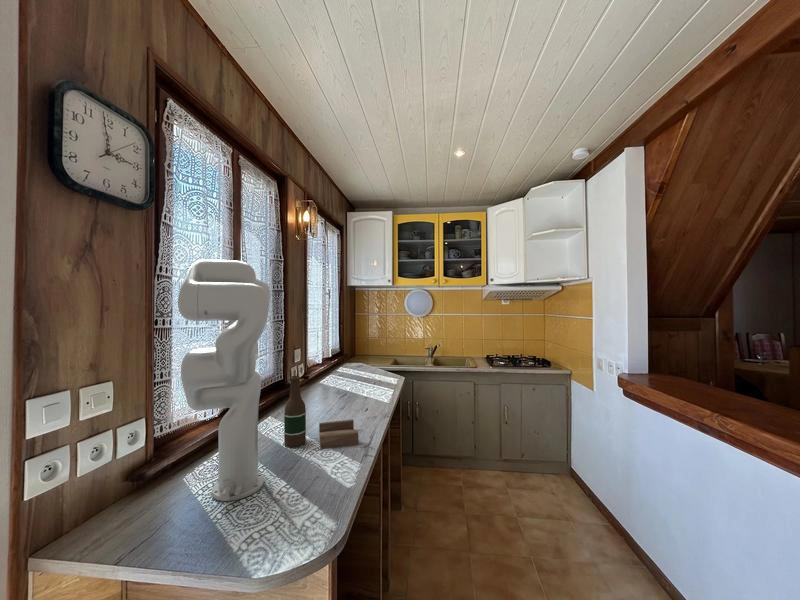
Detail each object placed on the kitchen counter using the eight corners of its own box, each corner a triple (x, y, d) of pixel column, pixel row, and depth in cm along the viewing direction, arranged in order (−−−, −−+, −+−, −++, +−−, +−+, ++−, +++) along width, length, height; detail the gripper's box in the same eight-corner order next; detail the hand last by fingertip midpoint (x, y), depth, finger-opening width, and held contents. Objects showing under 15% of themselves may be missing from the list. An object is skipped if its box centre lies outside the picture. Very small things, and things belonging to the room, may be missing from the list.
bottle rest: (358, 444, 113) (358, 432, 113) (320, 448, 110) (320, 437, 110) (353, 429, 127) (353, 419, 127) (319, 433, 123) (319, 422, 123)
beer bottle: (309, 439, 118) (309, 374, 118) (301, 448, 110) (301, 378, 110) (289, 438, 118) (289, 373, 119) (279, 448, 111) (279, 378, 111)
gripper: (214, 325, 105) (214, 381, 105) (263, 324, 109) (263, 378, 109) (220, 324, 112) (220, 376, 112) (266, 323, 116) (266, 373, 116)
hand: (241, 377), depth 110 cm, fingers closed
